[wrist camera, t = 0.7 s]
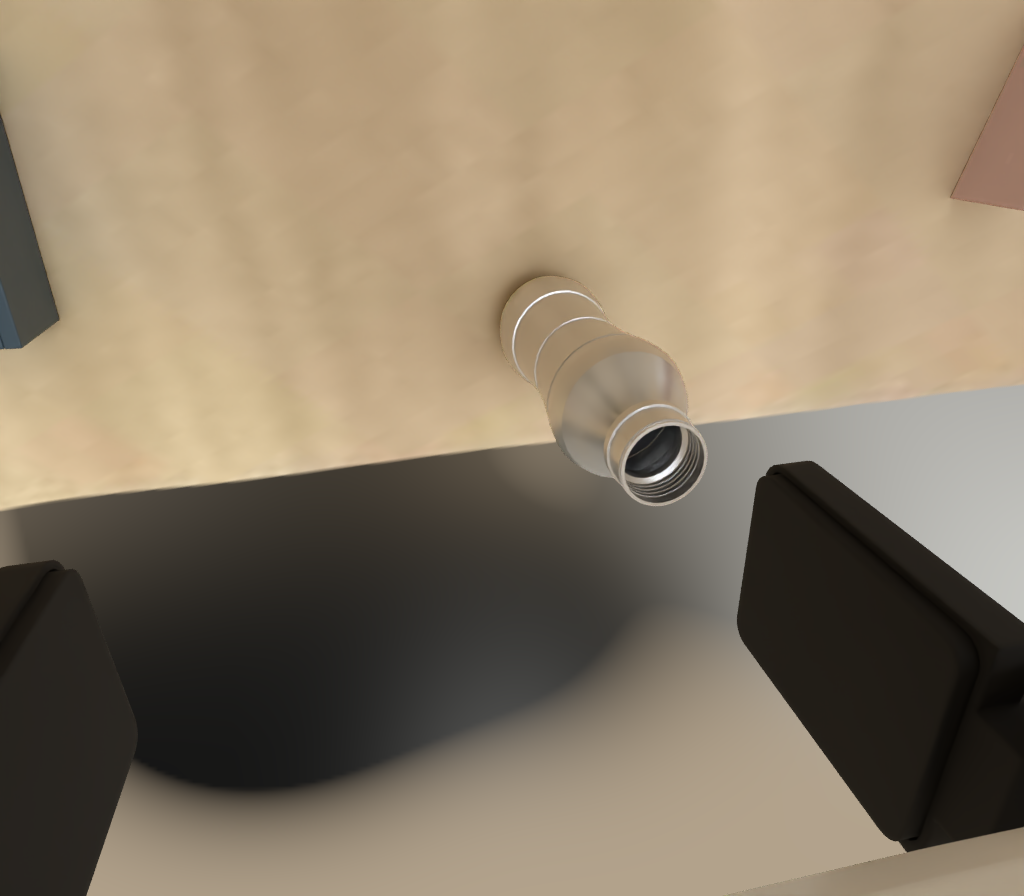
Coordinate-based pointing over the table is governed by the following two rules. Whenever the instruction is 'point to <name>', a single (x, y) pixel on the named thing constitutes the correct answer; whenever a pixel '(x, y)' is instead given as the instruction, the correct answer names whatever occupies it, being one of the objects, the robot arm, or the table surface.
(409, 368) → the table surface
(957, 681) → the robot arm
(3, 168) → the blue-grey rectangular frame
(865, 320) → the table surface
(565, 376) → the plastic bottle
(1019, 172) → the greeting card
